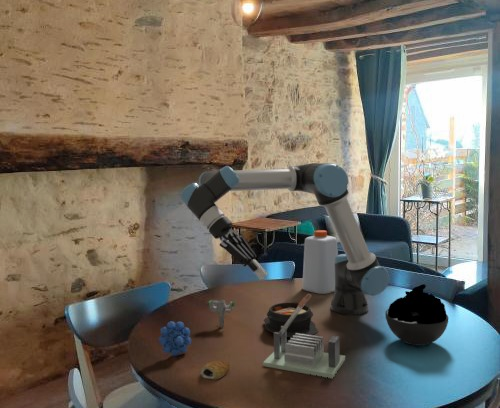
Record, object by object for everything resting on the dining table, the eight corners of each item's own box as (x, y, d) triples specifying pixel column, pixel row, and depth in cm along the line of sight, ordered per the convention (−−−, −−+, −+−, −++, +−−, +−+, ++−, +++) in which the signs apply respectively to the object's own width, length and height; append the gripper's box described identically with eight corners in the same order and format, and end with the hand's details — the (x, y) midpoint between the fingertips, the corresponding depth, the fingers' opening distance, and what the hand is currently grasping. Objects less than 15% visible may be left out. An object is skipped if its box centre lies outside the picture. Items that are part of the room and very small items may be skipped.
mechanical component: (234, 329, 182) (233, 303, 181) (207, 327, 184) (206, 302, 183) (235, 326, 185) (235, 300, 184) (209, 325, 187) (208, 299, 186)
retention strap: (277, 340, 152) (274, 337, 152) (284, 333, 157) (281, 331, 157) (306, 300, 146) (302, 298, 146) (311, 295, 151) (308, 293, 151)
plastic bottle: (298, 289, 231) (297, 231, 228) (318, 283, 241) (318, 227, 238) (323, 296, 220) (323, 234, 217) (344, 289, 230) (343, 230, 227)
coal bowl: (417, 360, 151) (417, 301, 149) (372, 339, 169) (373, 286, 167) (461, 347, 160) (462, 291, 158) (415, 328, 178) (415, 278, 176)
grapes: (165, 365, 152) (164, 328, 151) (156, 358, 158) (154, 322, 156) (198, 355, 159) (196, 319, 158) (188, 349, 164) (186, 314, 163)
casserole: (252, 324, 187) (252, 303, 186) (294, 316, 194) (294, 295, 193) (284, 347, 164) (284, 323, 163) (330, 337, 172) (330, 314, 171)
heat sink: (271, 361, 150) (271, 335, 149) (284, 348, 160) (284, 323, 159) (332, 372, 142) (332, 344, 141) (342, 357, 152) (341, 331, 151)
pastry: (217, 365, 152) (216, 353, 151) (235, 370, 148) (234, 358, 148) (198, 377, 144) (198, 365, 144) (217, 382, 140) (216, 370, 140)
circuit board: (263, 365, 150) (263, 362, 150) (280, 348, 162) (280, 345, 162) (332, 378, 140) (332, 374, 140) (345, 359, 153) (345, 355, 153)
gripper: (219, 227, 167) (265, 279, 162) (199, 233, 155) (248, 289, 150) (232, 212, 164) (279, 265, 159) (213, 217, 152) (263, 274, 147)
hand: (264, 277), depth 154 cm, fingers closed
